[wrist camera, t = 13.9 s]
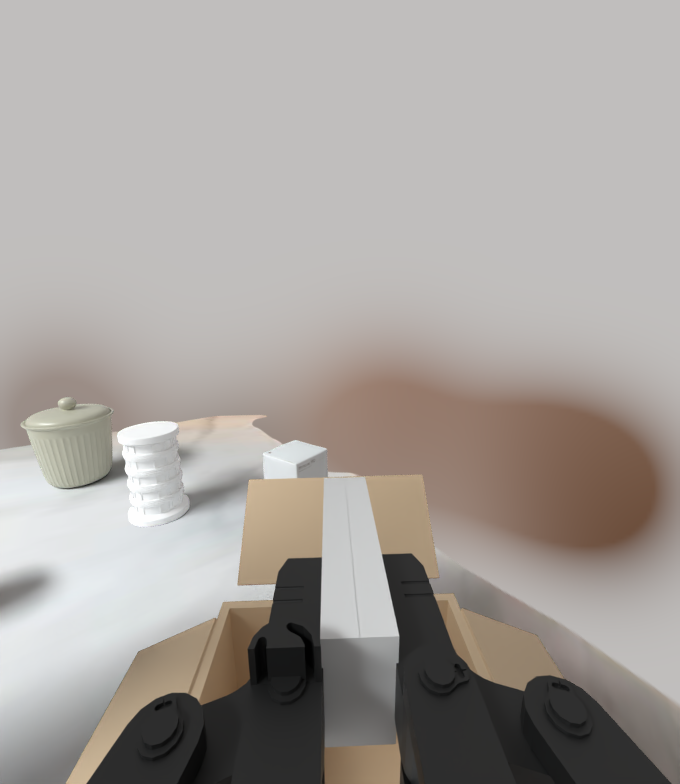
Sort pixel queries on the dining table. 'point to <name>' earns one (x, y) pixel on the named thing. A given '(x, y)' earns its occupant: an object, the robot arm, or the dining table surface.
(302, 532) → the carton flap
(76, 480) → the canister
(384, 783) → the carton
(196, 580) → the dining table surface
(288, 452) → the supplement box
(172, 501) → the decorative container
